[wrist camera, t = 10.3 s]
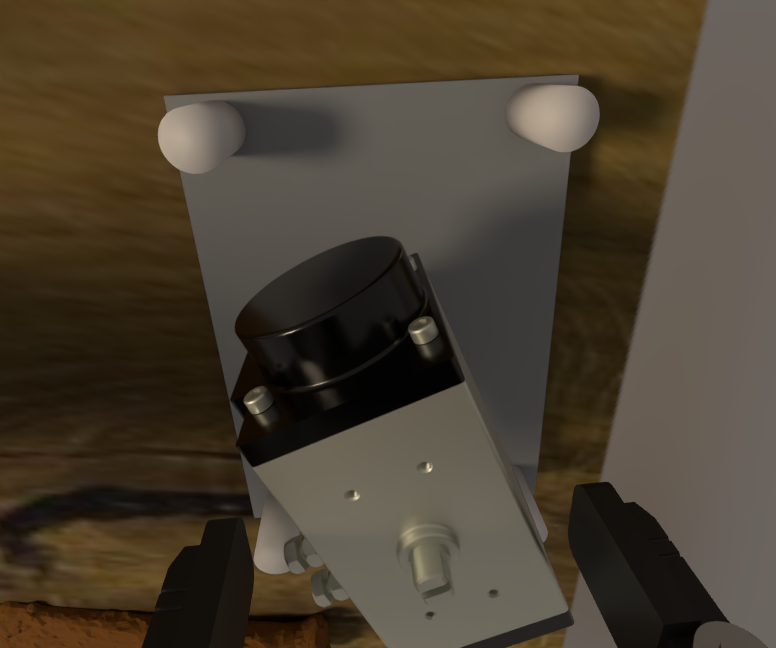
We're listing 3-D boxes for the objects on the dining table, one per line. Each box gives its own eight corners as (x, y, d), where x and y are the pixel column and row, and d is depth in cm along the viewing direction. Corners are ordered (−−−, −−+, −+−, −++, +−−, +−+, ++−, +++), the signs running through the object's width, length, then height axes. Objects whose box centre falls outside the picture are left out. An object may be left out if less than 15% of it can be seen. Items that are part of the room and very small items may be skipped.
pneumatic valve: (387, 176, 19) (435, 320, 8) (491, 414, 24) (607, 699, 13) (252, 239, 20) (131, 448, 9) (381, 457, 24) (405, 761, 14)
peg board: (526, 472, 28) (561, 550, 23) (259, 495, 27) (241, 580, 22) (562, 74, 19) (628, 74, 15) (176, 94, 19) (122, 101, 14)
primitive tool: (12, 656, 32) (-25, 721, 28) (-16, 594, 29) (-60, 657, 26) (331, 636, 33) (329, 696, 30) (328, 576, 31) (326, 634, 28)
